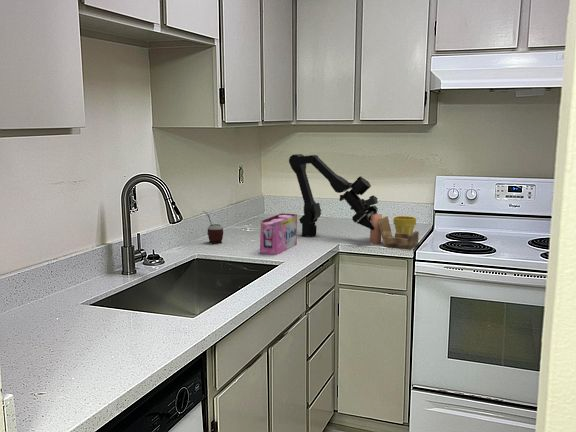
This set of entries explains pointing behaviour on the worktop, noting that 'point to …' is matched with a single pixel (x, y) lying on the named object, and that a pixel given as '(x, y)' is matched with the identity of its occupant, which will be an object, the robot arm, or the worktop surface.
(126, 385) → the worktop surface
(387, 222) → the brown wooden flat block
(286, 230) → the gum box
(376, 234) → the post
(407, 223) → the plant pot
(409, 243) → the open wooden box
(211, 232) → the mate gourd
